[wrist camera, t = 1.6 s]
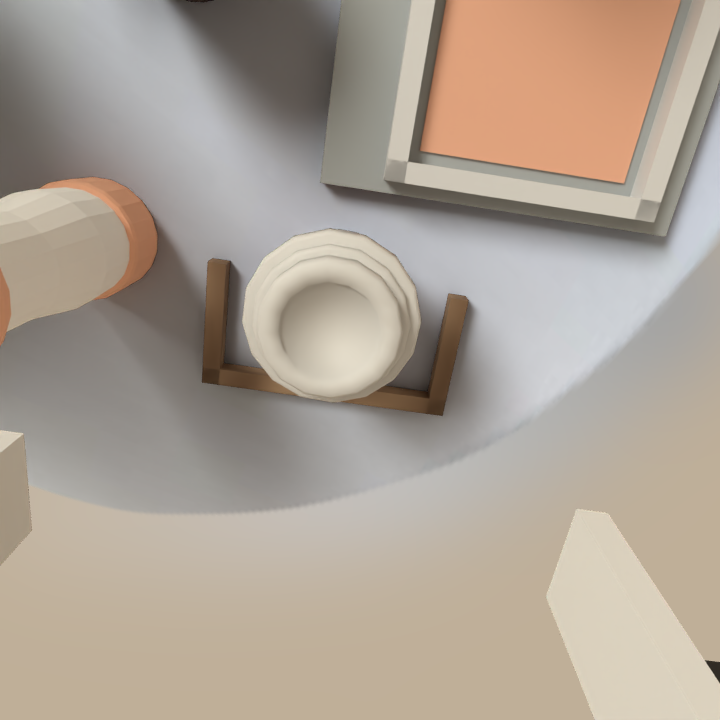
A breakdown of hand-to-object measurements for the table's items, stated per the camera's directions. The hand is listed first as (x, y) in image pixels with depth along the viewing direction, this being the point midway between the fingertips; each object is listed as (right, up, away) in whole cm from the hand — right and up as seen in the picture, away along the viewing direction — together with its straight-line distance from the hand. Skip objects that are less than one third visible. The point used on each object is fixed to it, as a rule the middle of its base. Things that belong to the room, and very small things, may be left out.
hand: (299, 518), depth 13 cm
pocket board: (+11, +22, +19) cm, 31 cm away
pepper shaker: (-16, +12, +23) cm, 31 cm away
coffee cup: (0, +10, +24) cm, 26 cm away
